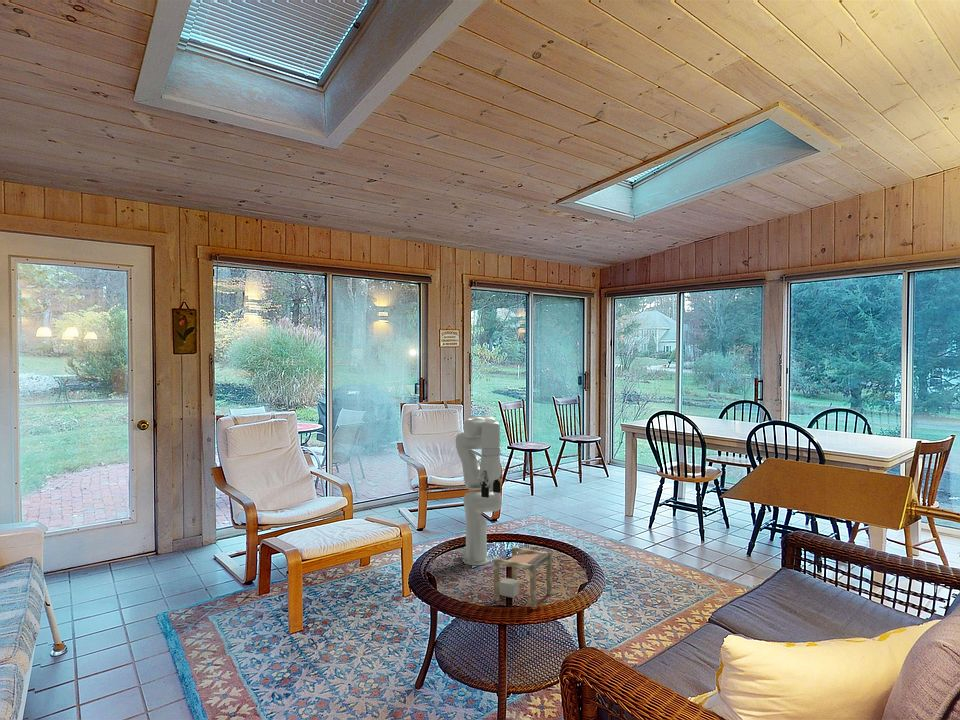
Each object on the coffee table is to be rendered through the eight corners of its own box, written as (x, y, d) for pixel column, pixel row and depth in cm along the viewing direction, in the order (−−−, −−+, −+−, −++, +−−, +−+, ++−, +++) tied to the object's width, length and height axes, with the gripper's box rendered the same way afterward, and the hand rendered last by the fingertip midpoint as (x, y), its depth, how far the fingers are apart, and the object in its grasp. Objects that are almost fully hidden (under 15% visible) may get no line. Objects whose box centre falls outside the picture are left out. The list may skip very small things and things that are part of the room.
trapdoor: (502, 566, 200) (501, 563, 200) (516, 557, 210) (516, 553, 210) (531, 566, 194) (530, 562, 194) (544, 556, 205) (543, 553, 205)
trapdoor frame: (493, 600, 199) (493, 558, 199) (513, 585, 213) (513, 546, 214) (534, 610, 191) (534, 566, 191) (552, 593, 205) (551, 553, 205)
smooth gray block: (513, 598, 201) (499, 595, 204) (519, 593, 206) (505, 590, 209) (513, 584, 202) (499, 581, 205) (519, 580, 206) (505, 577, 209)
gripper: (492, 448, 224) (493, 489, 224) (471, 454, 209) (472, 498, 209) (508, 450, 221) (509, 491, 220) (488, 455, 206) (488, 500, 205)
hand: (491, 494), depth 214 cm, fingers open, 9 cm apart
